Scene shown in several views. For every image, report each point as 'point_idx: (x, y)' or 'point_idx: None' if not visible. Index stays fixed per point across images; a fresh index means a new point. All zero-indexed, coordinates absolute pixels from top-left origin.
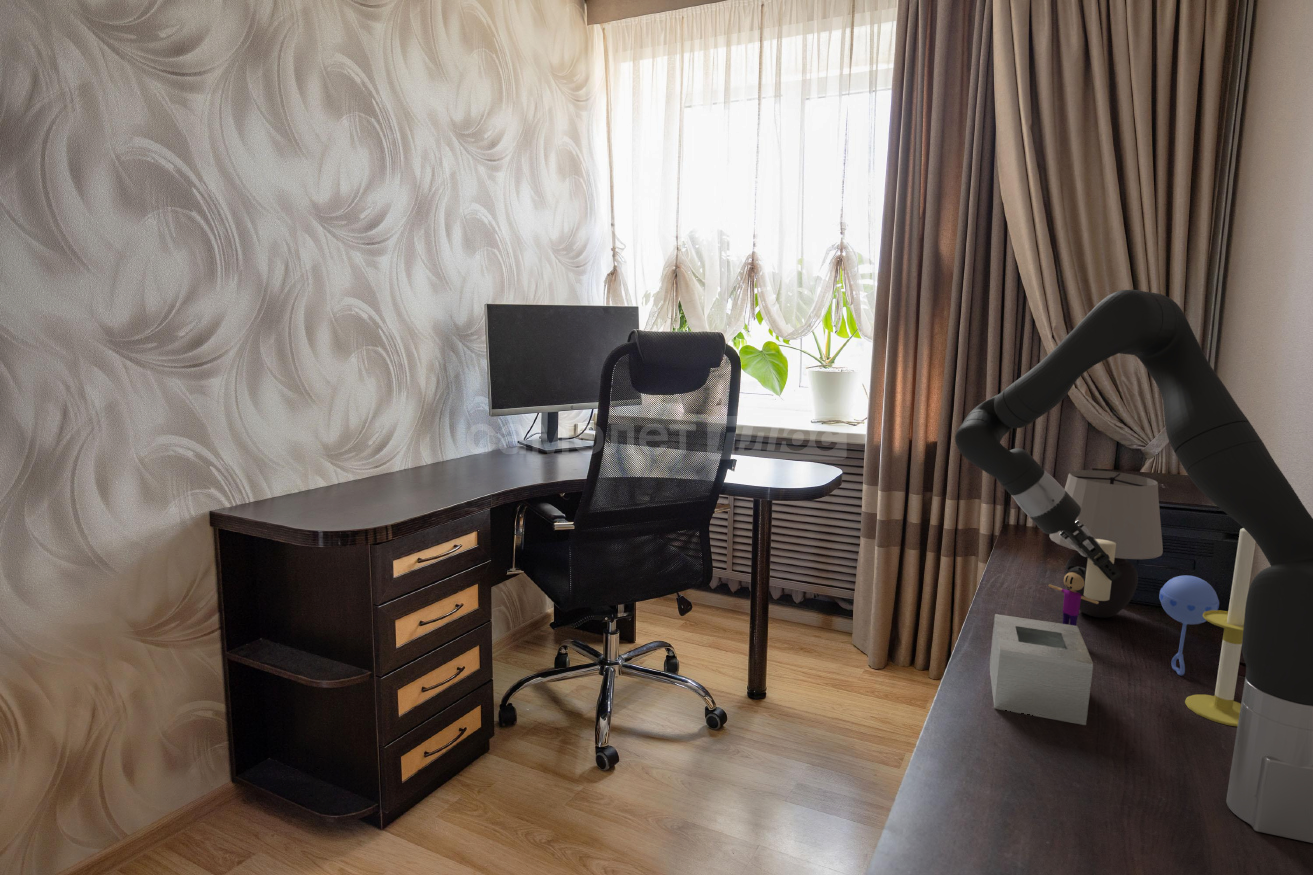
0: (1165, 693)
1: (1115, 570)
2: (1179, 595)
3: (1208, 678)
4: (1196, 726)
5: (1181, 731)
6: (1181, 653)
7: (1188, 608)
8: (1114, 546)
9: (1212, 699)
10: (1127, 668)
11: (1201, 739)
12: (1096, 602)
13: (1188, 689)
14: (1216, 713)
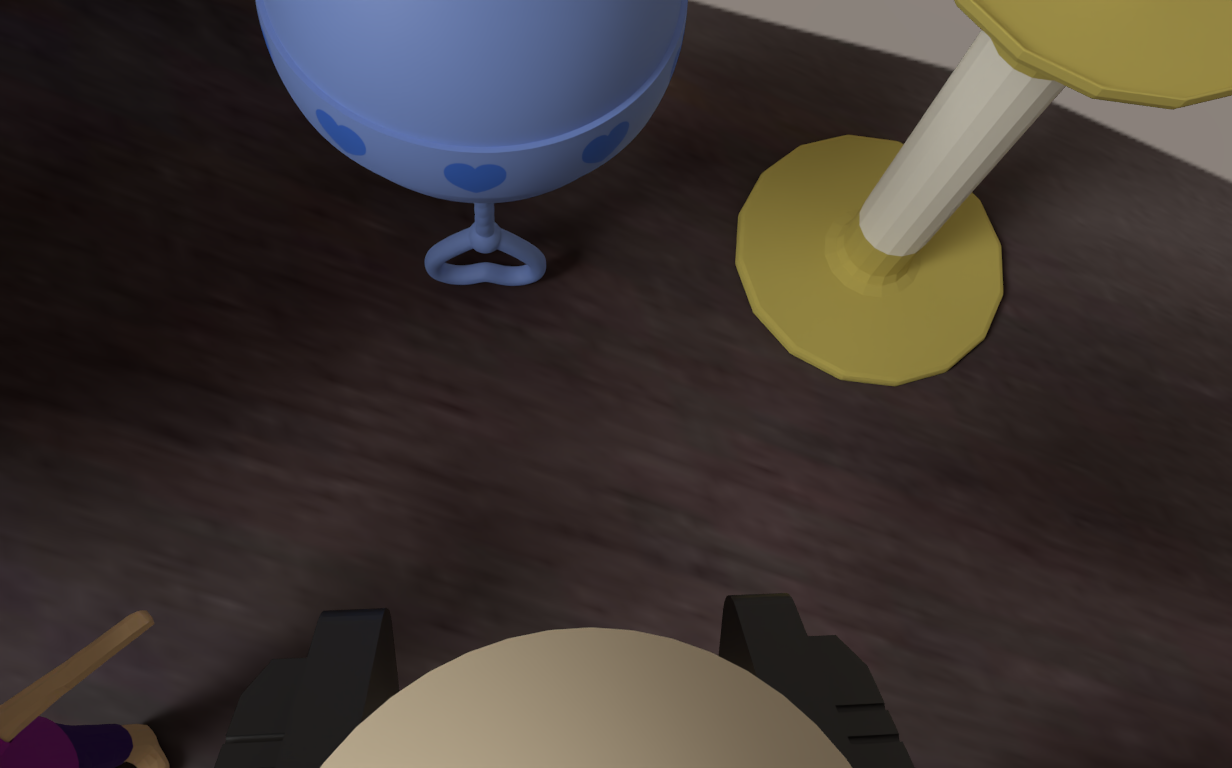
0: (765, 430)
1: (879, 708)
2: (624, 64)
3: None
4: (1070, 424)
5: (1150, 508)
6: (495, 225)
7: (671, 76)
8: (805, 721)
9: (786, 252)
10: (500, 514)
11: (1187, 452)
12: (140, 630)
13: (680, 305)
14: (929, 295)
